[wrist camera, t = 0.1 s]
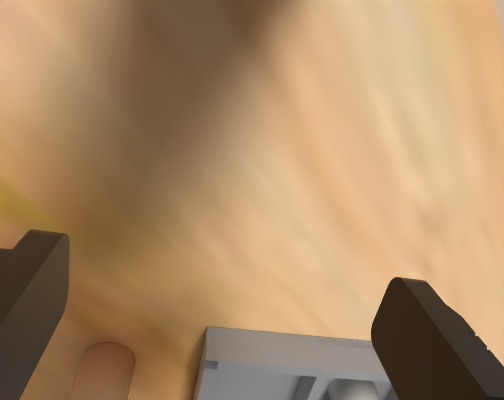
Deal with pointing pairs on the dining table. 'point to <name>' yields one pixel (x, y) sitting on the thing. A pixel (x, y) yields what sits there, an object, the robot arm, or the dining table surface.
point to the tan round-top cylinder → (104, 373)
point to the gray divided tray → (282, 366)
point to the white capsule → (352, 390)
